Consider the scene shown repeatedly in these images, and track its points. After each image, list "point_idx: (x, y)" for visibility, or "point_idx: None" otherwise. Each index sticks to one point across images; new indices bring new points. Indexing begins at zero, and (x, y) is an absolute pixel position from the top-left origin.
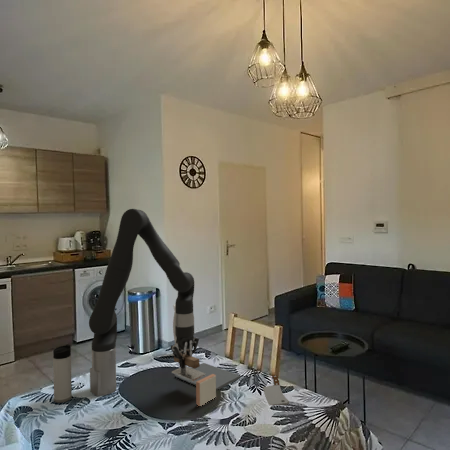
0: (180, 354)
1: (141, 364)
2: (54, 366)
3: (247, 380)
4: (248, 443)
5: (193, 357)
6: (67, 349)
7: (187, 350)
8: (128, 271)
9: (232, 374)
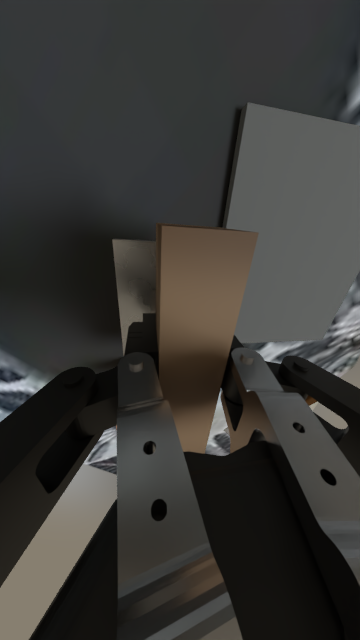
0: (140, 394)
1: None
2: None
3: (307, 355)
4: (107, 468)
5: (202, 432)
6: None
7: (239, 425)
8: None
9: (325, 320)
